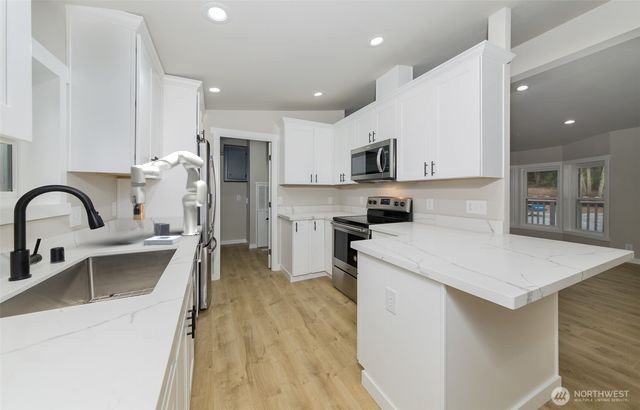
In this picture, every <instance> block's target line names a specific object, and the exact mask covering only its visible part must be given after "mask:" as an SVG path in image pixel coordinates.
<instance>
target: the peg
mask: <svg viewBox="0 0 640 410" xmlns="http://www.w3.org/2000/svg"><path fill="white" fill-rule="evenodd" d="M137 205H138V204H137ZM139 208H140V215H134V208H133V207H132V217H133V218H132V219H133V221H142V220H145V216H146V215H145V204H139Z"/></svg>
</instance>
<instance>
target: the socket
mask: <svg viewBox="0 0 640 410" xmlns="http://www.w3.org/2000/svg"><path fill="white" fill-rule="evenodd" d="M180 240H181V241H182V235H169V236H154V235H153V236H152V237H149V238H147V239H144V240H143V245H144V246H160V245H161V246H163V245H164V246H165V245H166V246H167V245H169V246H170V245H175V244H176V243H178V242H180Z"/></svg>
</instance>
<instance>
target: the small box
mask: <svg viewBox="0 0 640 410" xmlns="http://www.w3.org/2000/svg"><path fill="white" fill-rule="evenodd" d="M170 228H171V227H170V223H165V222H157V223H156V222H155V223H153V237H154V236H170Z"/></svg>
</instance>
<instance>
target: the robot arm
mask: <svg viewBox="0 0 640 410" xmlns="http://www.w3.org/2000/svg"><path fill="white" fill-rule="evenodd" d="M180 164H182V167H183V168H184V169H185V170H186V172H187V179H186V184H185V185H186V187H185V190H186V191H187V192H188V193H187V194H184V195H183V196H182V198H181V202H182V207H183V208H182V209H183V232H181V235H180V236H195V234H197V235H199V234H200V232H199V231H198V210H197V207H202V206H204V205H205V204H206V199H207V192H208V185H207V183H206V182H205V181H204V180H200V172H199V170H198V169H201V168H203V167H204V160H203V159H202V158H201V157H200V156H198V155H196V154H194V153H192V152H189V151H174V152H173V153H171V154H169V155H167V156H165V157H162V158H159V159H156V160H153V161H151V162H147V163H145V164H143V165H131V166H130V193H129V195H130V196H129V203H130V204H131V206H132V209H133V208H134V215H140V208H139V204H144V205H146V201H147V198H146V197H147V196H146V193H147V192H146V187H147V183H146V182H147V181H146V179H156V178H158V177H159V176H160V174H161V173H160V172H163V171H164V172H165V171H169V170H172V169H174V167H177V166H179V165H180ZM137 204H138V205H137Z"/></svg>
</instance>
